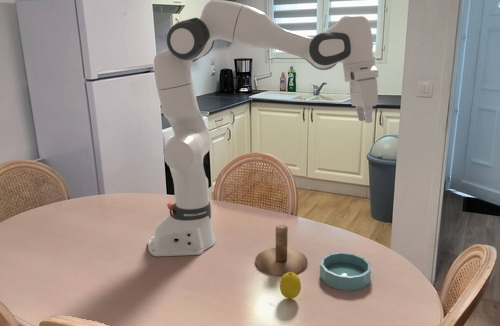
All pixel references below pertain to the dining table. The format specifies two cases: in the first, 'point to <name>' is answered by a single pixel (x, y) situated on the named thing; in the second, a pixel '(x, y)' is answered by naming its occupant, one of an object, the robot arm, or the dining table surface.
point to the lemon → (290, 285)
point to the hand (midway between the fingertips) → (365, 121)
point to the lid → (281, 256)
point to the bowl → (345, 271)
